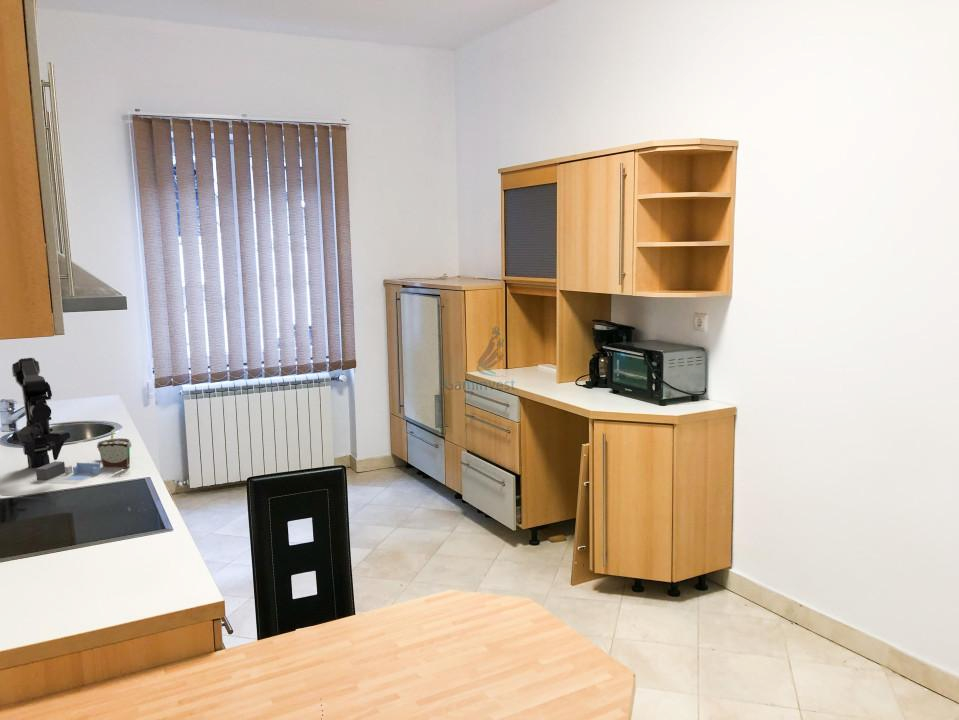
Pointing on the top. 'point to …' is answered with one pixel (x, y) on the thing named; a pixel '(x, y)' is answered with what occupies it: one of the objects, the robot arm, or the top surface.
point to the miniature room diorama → (74, 474)
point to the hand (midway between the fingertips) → (43, 459)
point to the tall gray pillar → (50, 470)
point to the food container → (115, 452)
